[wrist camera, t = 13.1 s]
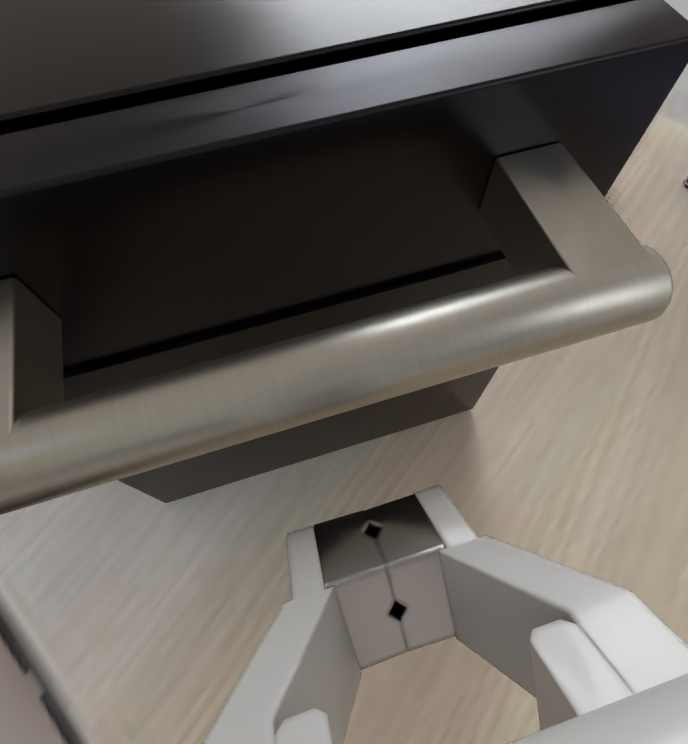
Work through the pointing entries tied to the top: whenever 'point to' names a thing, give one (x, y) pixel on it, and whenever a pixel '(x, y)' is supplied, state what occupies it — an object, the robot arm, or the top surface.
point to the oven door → (318, 252)
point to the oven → (211, 44)
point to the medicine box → (686, 180)
